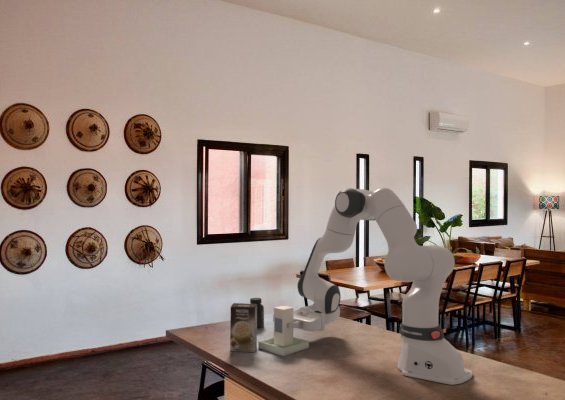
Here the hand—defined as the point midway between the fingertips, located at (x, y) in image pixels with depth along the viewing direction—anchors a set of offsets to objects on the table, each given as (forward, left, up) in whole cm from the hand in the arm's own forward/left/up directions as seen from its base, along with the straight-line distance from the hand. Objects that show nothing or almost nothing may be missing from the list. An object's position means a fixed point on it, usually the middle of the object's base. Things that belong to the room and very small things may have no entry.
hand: (281, 324), depth 176 cm
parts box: (0, -1, -7) cm, 7 cm away
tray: (0, -1, -9) cm, 9 cm away
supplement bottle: (+30, -15, -9) cm, 35 cm away
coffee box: (+9, +10, -9) cm, 17 cm away
